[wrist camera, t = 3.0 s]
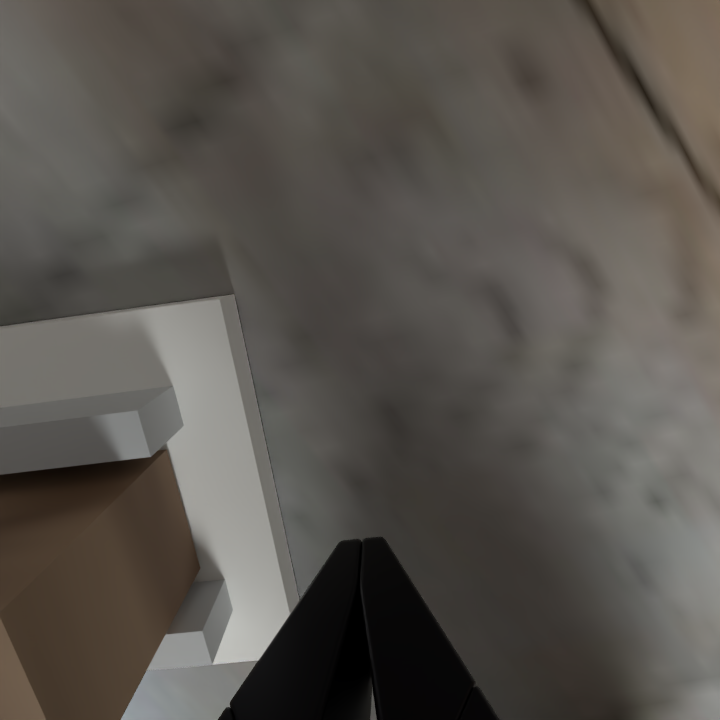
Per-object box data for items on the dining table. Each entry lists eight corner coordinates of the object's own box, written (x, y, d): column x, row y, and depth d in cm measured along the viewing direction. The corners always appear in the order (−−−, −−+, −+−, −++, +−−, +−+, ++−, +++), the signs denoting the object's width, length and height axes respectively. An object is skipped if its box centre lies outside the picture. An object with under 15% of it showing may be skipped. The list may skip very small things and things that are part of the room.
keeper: (166, 449, 10) (-2, 613, 5) (200, 568, 10) (80, 794, 6) (-33, 473, 10) (-353, 649, 5) (16, 587, 11) (-227, 818, 6)
